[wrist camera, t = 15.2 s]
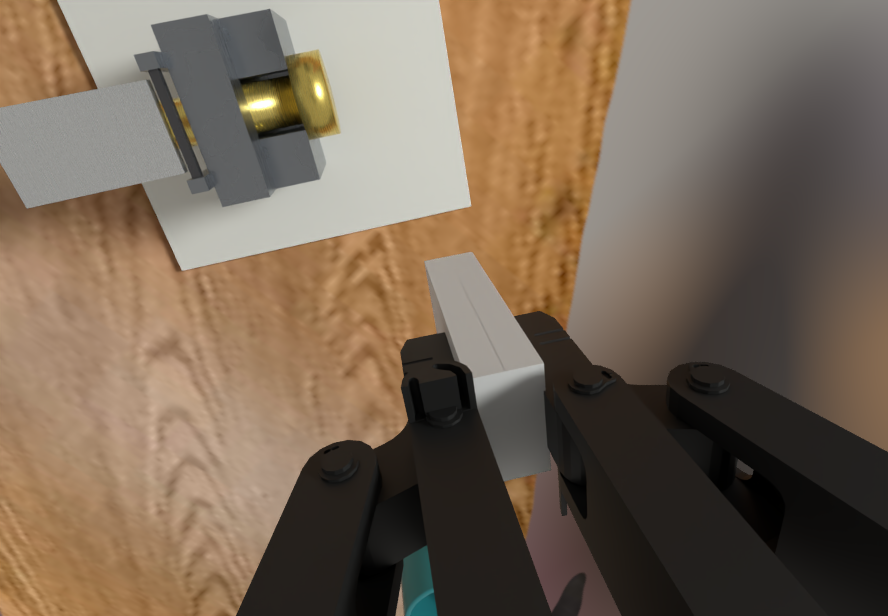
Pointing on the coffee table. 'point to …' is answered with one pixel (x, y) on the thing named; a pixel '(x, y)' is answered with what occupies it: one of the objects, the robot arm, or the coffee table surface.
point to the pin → (287, 100)
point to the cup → (418, 585)
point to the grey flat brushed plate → (87, 143)
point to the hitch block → (230, 103)
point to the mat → (347, 154)
